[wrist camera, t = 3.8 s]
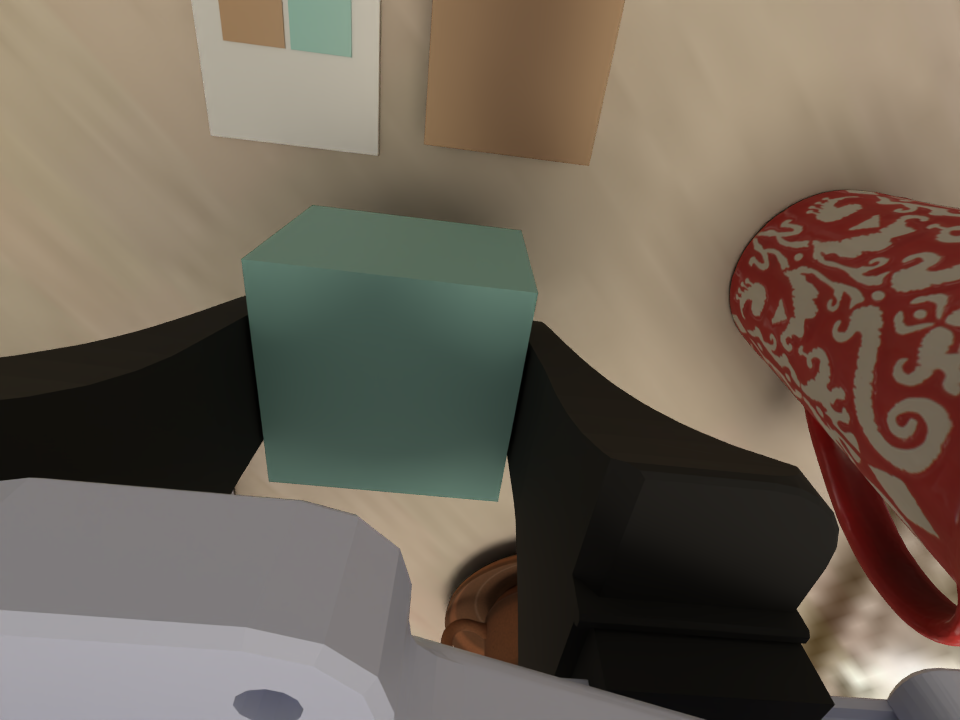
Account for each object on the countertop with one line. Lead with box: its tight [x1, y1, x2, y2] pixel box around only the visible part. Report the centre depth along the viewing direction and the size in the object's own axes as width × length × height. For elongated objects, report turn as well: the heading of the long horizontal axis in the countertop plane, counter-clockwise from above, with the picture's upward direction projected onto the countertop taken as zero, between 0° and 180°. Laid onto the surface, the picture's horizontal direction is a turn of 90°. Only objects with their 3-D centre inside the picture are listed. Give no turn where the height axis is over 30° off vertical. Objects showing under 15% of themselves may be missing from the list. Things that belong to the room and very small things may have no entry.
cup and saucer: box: [441, 554, 518, 665], centre depth 29 cm, size 12×12×6 cm
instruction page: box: [191, 0, 381, 156], centre depth 16 cm, size 6×8×1 cm
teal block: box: [241, 205, 538, 502], centre depth 11 cm, size 5×5×4 cm
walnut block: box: [424, 0, 625, 166], centre depth 15 cm, size 5×5×4 cm
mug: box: [730, 190, 960, 646], centre depth 16 cm, size 13×9×14 cm
